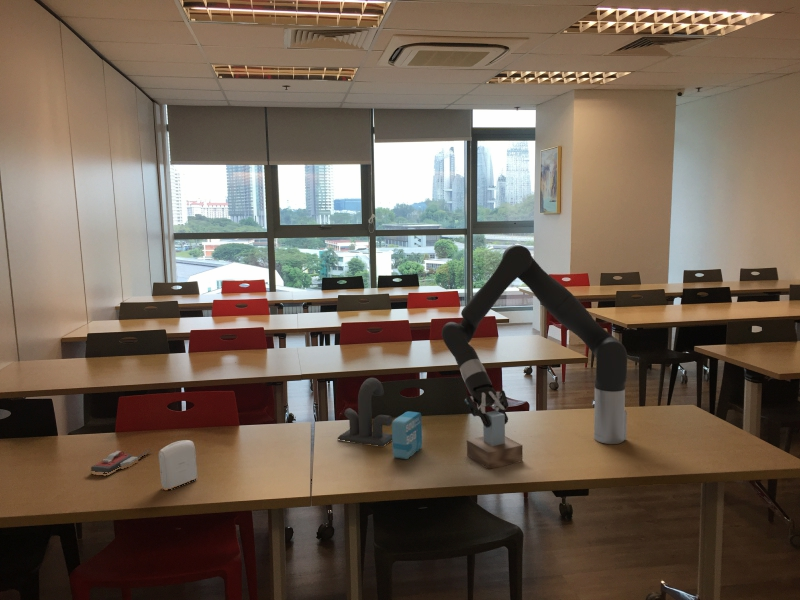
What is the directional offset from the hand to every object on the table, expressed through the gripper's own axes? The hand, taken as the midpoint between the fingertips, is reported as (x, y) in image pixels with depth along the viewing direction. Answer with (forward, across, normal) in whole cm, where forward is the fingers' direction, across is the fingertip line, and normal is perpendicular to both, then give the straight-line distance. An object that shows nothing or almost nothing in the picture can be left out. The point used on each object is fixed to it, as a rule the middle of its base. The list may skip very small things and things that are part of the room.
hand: (497, 424), depth 185 cm
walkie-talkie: (-30, -103, +47) cm, 117 cm away
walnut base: (+7, 0, +9) cm, 11 cm away
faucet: (-19, -25, +36) cm, 48 cm away
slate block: (+3, 0, +6) cm, 6 cm away
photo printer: (-13, -88, +29) cm, 94 cm away
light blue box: (-5, -21, +21) cm, 30 cm away
